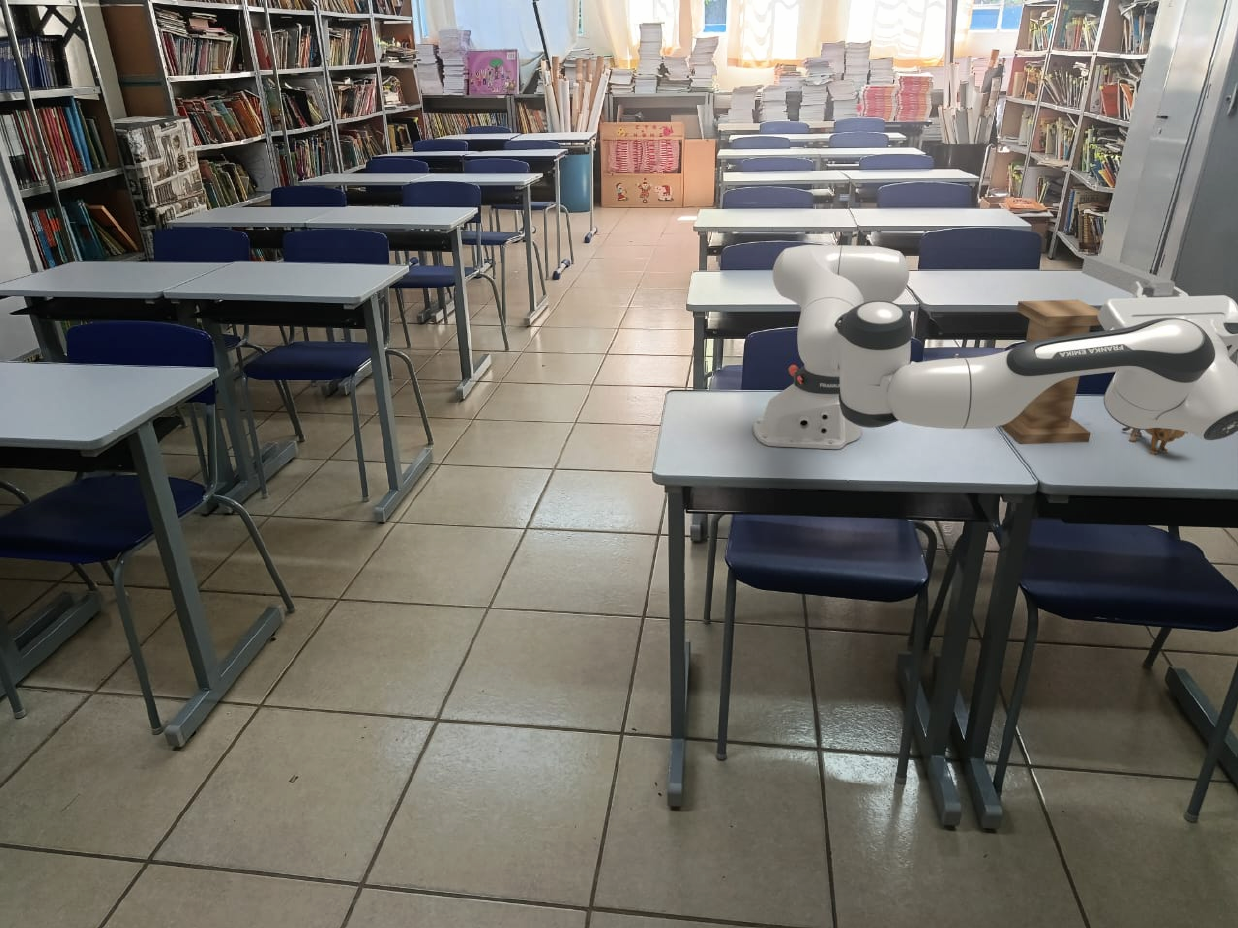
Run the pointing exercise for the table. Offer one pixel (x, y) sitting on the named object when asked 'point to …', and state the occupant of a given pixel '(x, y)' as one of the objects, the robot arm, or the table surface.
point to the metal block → (1126, 276)
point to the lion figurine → (1158, 437)
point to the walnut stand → (1054, 406)
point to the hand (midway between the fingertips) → (1150, 284)
